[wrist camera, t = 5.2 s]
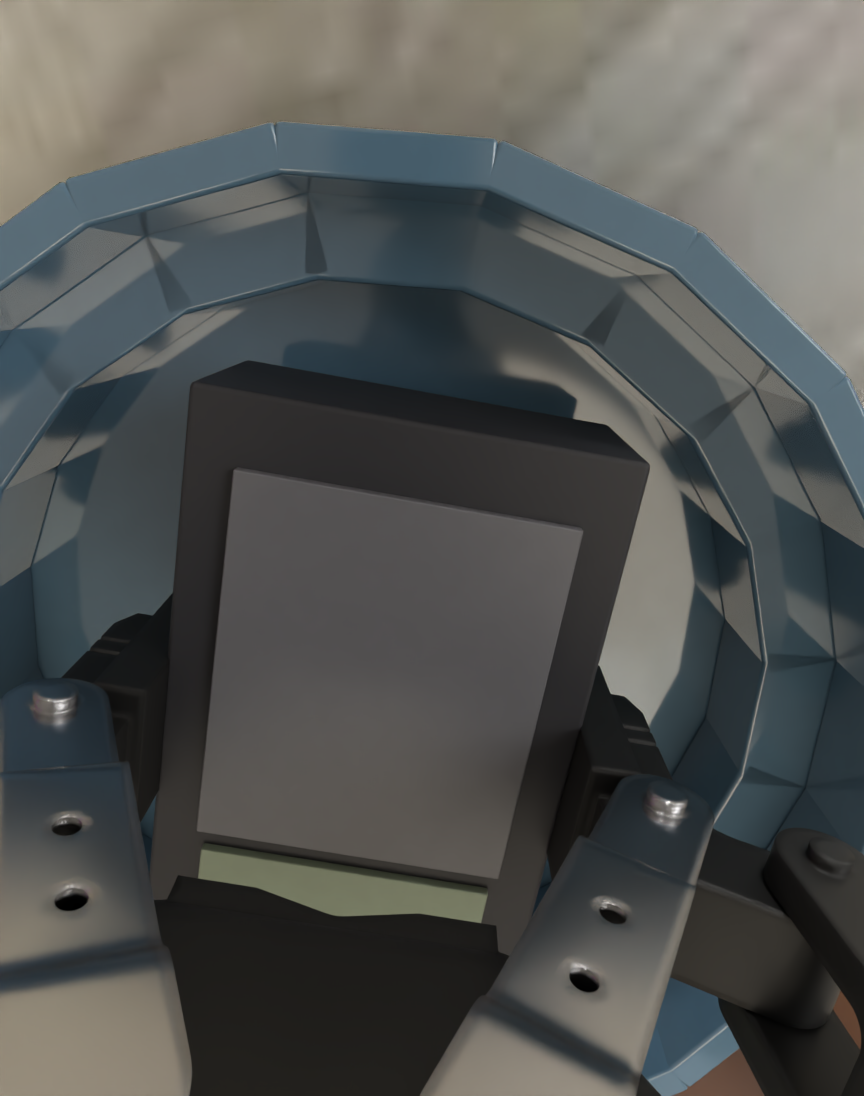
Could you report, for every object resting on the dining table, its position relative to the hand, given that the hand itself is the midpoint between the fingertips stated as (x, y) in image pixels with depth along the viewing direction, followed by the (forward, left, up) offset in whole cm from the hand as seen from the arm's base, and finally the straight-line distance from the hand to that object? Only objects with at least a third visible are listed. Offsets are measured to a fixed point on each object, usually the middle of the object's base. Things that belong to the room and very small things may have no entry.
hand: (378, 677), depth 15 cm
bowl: (0, 0, -3) cm, 3 cm away
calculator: (0, 0, 0) cm, 0 cm away
